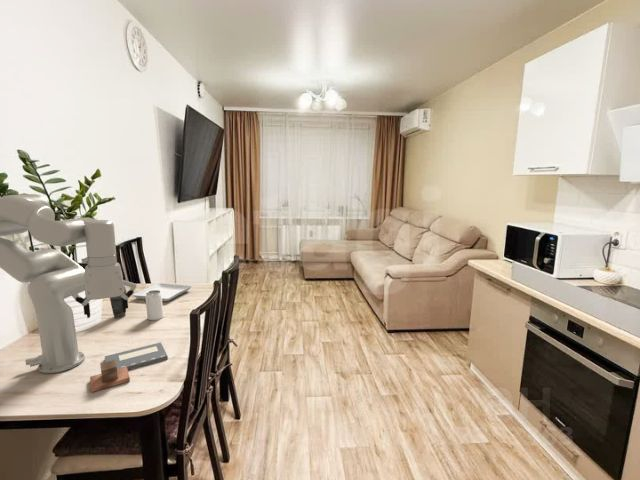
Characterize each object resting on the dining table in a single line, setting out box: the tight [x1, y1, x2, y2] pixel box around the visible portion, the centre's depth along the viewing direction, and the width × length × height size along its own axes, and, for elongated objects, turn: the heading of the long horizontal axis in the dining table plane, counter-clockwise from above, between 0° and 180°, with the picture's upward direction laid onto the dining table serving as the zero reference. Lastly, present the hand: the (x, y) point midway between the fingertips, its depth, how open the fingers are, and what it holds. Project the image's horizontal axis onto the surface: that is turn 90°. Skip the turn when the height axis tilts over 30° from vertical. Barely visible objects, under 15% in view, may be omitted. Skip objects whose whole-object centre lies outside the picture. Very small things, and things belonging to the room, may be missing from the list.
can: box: [145, 290, 164, 321], centre depth 154 cm, size 6×6×12 cm
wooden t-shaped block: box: [89, 360, 131, 393], centre depth 106 cm, size 10×7×5 cm
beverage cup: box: [109, 285, 127, 319], centre depth 155 cm, size 7×7×20 cm
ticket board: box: [104, 342, 169, 371], centre depth 120 cm, size 18×12×1 cm, turn 125°
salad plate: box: [132, 282, 192, 302], centre depth 184 cm, size 21×21×3 cm
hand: (107, 313), depth 109 cm, fingers open, 9 cm apart
